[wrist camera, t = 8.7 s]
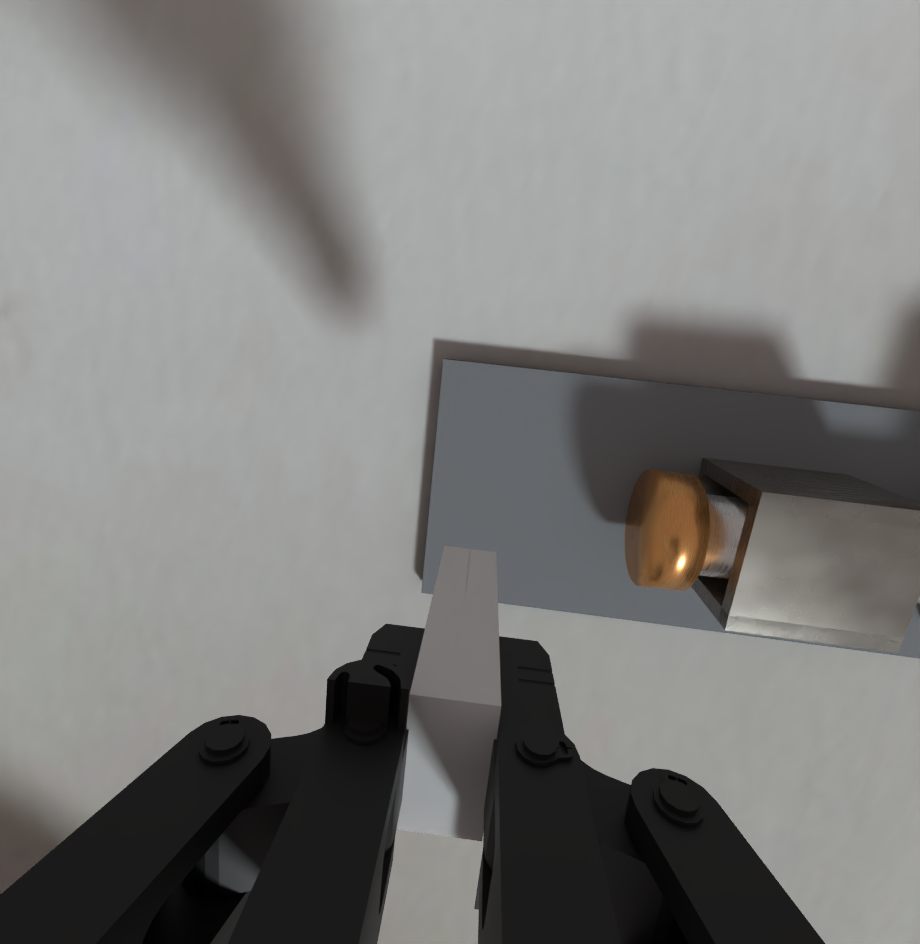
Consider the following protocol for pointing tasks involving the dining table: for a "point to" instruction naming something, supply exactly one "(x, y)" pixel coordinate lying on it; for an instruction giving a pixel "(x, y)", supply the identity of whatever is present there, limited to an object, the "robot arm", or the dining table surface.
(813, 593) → the sleeve
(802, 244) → the dining table surface
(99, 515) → the dining table surface
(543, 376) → the base mat
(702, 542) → the sliding bolt
